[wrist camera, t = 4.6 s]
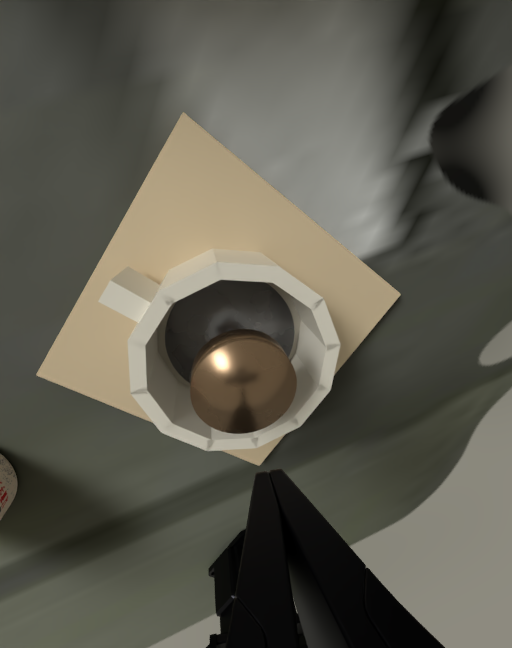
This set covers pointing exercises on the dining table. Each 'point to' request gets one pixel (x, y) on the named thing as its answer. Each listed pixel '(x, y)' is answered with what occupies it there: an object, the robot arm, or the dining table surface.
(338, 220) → the dining table surface
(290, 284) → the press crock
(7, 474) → the teacup with lid
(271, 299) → the plunger
